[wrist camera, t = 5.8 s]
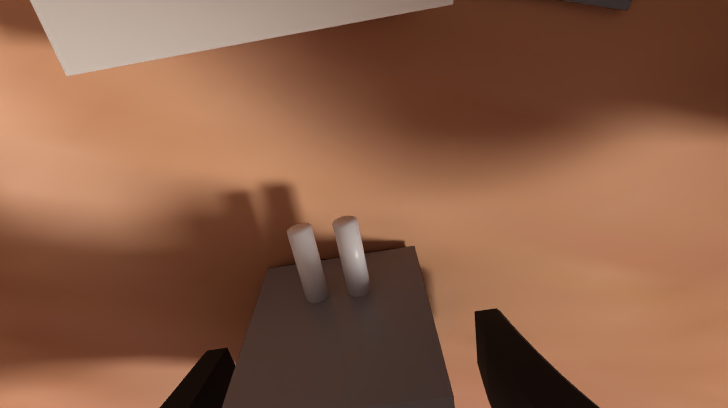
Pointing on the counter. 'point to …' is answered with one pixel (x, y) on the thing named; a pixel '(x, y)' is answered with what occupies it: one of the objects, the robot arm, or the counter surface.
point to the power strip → (190, 25)
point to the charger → (341, 332)
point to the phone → (605, 3)
